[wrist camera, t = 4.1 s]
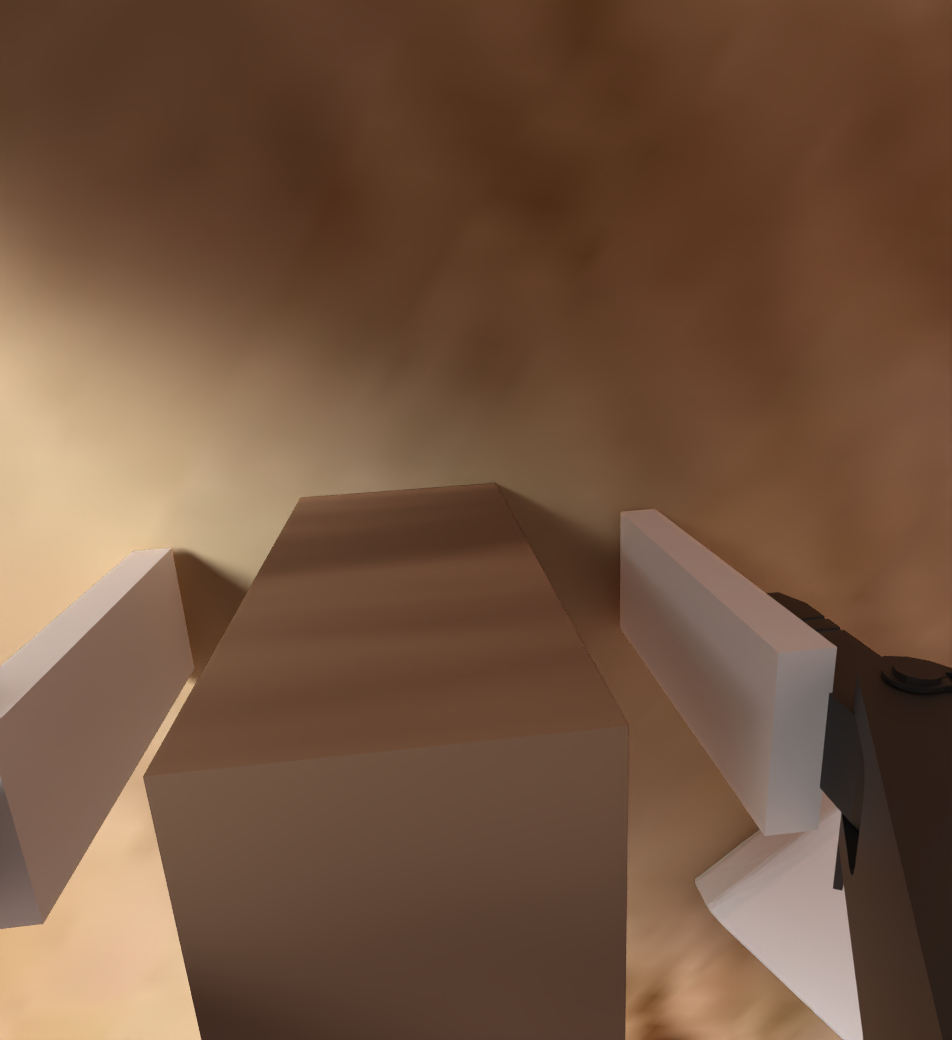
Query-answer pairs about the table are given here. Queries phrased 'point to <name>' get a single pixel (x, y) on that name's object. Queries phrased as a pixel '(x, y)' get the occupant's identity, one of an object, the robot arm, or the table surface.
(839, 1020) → the external hard drive
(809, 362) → the table surface
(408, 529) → the walnut paddle
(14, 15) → the table surface
